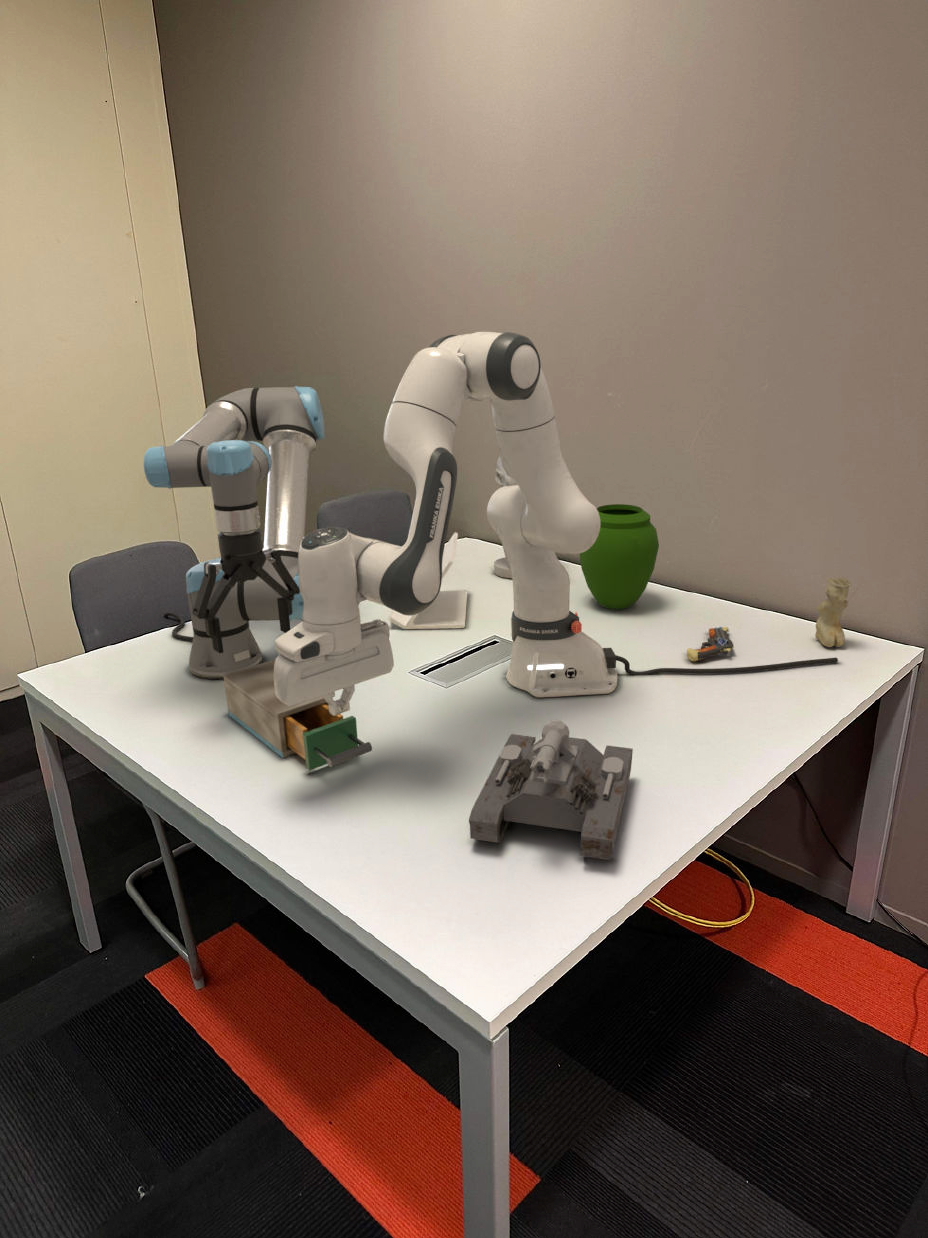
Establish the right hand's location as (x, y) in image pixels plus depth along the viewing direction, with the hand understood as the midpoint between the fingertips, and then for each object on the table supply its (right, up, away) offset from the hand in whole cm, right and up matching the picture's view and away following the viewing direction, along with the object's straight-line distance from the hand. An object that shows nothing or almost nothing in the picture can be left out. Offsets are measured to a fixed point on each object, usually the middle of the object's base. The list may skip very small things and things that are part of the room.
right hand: (339, 712), depth 138 cm
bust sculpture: (+37, +27, +101) cm, 111 cm away
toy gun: (+74, +9, +49) cm, 89 cm away
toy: (+34, -14, -8) cm, 38 cm away
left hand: (-19, +11, +21) cm, 30 cm away
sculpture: (+100, +10, +49) cm, 112 cm away
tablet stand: (+12, +17, +76) cm, 79 cm away
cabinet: (-14, -5, +20) cm, 25 cm away
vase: (+58, +19, +76) cm, 98 cm away
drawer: (-6, -7, +11) cm, 15 cm away
